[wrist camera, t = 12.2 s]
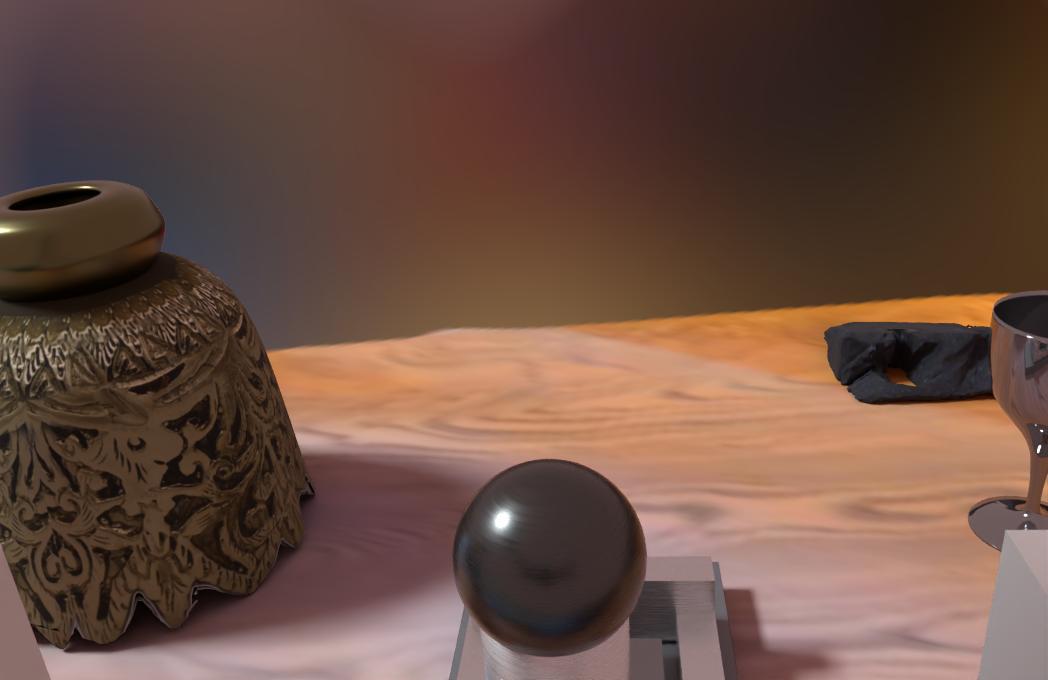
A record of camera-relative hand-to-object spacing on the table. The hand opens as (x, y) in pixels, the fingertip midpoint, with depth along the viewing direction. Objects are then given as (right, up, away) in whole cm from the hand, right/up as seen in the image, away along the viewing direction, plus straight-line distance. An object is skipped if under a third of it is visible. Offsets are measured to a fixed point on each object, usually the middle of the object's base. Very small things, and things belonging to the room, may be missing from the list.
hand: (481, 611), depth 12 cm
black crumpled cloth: (+39, +1, +69) cm, 79 cm away
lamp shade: (-26, -11, +54) cm, 61 cm away
